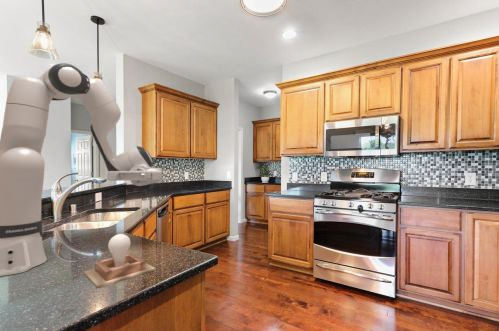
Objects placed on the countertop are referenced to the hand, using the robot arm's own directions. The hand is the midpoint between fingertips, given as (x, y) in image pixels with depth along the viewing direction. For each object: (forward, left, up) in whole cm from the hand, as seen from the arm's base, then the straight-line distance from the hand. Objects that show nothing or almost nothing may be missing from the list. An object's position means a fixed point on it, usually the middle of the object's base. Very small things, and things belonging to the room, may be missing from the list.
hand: (130, 176), depth 93 cm
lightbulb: (-9, -14, -29) cm, 33 cm away
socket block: (-8, -14, -29) cm, 34 cm away
